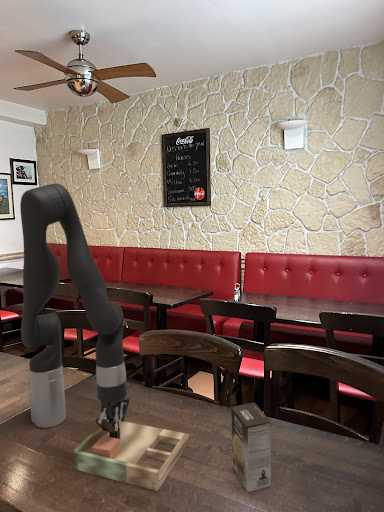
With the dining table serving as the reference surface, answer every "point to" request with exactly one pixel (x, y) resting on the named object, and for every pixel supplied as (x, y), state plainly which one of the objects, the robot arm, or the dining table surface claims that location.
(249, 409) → the coffee box
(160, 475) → the box
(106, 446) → the block
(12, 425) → the dining table surface
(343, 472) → the dining table surface
